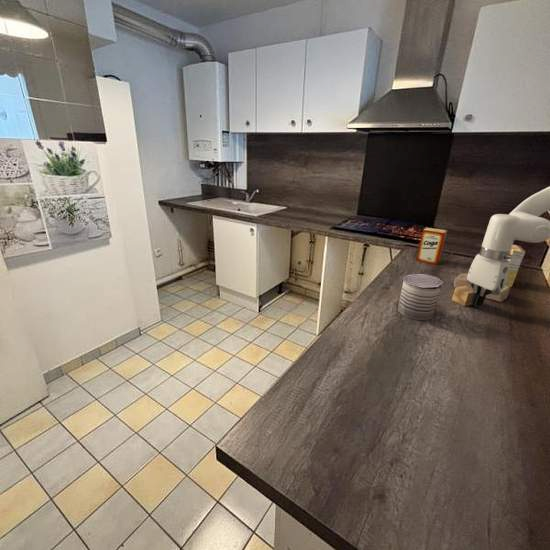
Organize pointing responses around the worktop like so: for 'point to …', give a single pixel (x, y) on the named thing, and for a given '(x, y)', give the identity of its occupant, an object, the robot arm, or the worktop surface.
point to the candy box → (514, 263)
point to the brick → (462, 282)
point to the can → (419, 296)
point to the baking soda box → (431, 245)
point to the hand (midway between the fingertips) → (476, 304)
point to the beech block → (463, 295)
